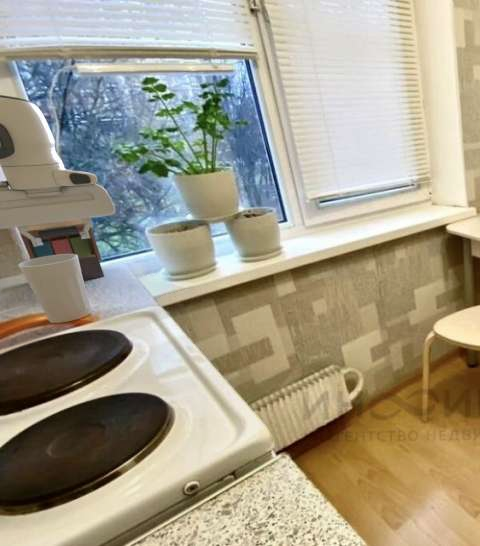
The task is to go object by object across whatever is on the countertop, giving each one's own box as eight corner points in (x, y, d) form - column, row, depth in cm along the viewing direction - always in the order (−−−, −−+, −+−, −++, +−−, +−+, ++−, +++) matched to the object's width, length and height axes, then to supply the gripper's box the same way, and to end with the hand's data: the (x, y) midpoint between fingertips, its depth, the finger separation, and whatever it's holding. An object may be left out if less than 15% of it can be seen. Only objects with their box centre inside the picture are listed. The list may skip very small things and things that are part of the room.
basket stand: (42, 288, 99) (32, 265, 97) (38, 280, 105) (28, 257, 103) (104, 276, 107) (96, 254, 105) (97, 268, 113) (89, 247, 111)
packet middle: (57, 259, 100) (58, 260, 99) (49, 239, 98) (50, 241, 97) (73, 256, 102) (74, 258, 101) (66, 237, 100) (67, 238, 99)
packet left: (38, 262, 97) (39, 264, 97) (30, 242, 95) (30, 244, 95) (55, 259, 99) (56, 261, 99) (47, 239, 97) (48, 241, 97)
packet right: (75, 256, 102) (76, 257, 101) (68, 236, 100) (69, 238, 99) (91, 253, 104) (92, 255, 103) (84, 234, 102) (85, 236, 101)
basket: (32, 265, 97) (39, 279, 92) (14, 222, 93) (20, 234, 88) (96, 254, 105) (106, 266, 100) (82, 213, 101) (92, 224, 96)
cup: (105, 311, 87) (85, 256, 83) (53, 327, 80) (29, 268, 76) (86, 305, 90) (66, 252, 86) (35, 320, 83) (10, 263, 79)
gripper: (-41, 185, 78) (-9, 255, 83) (105, 174, 93) (125, 234, 98) (-41, 183, 82) (-10, 250, 87) (99, 173, 97) (119, 230, 102)
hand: (63, 241), depth 93 cm, fingers closed on basket, 6 cm apart
